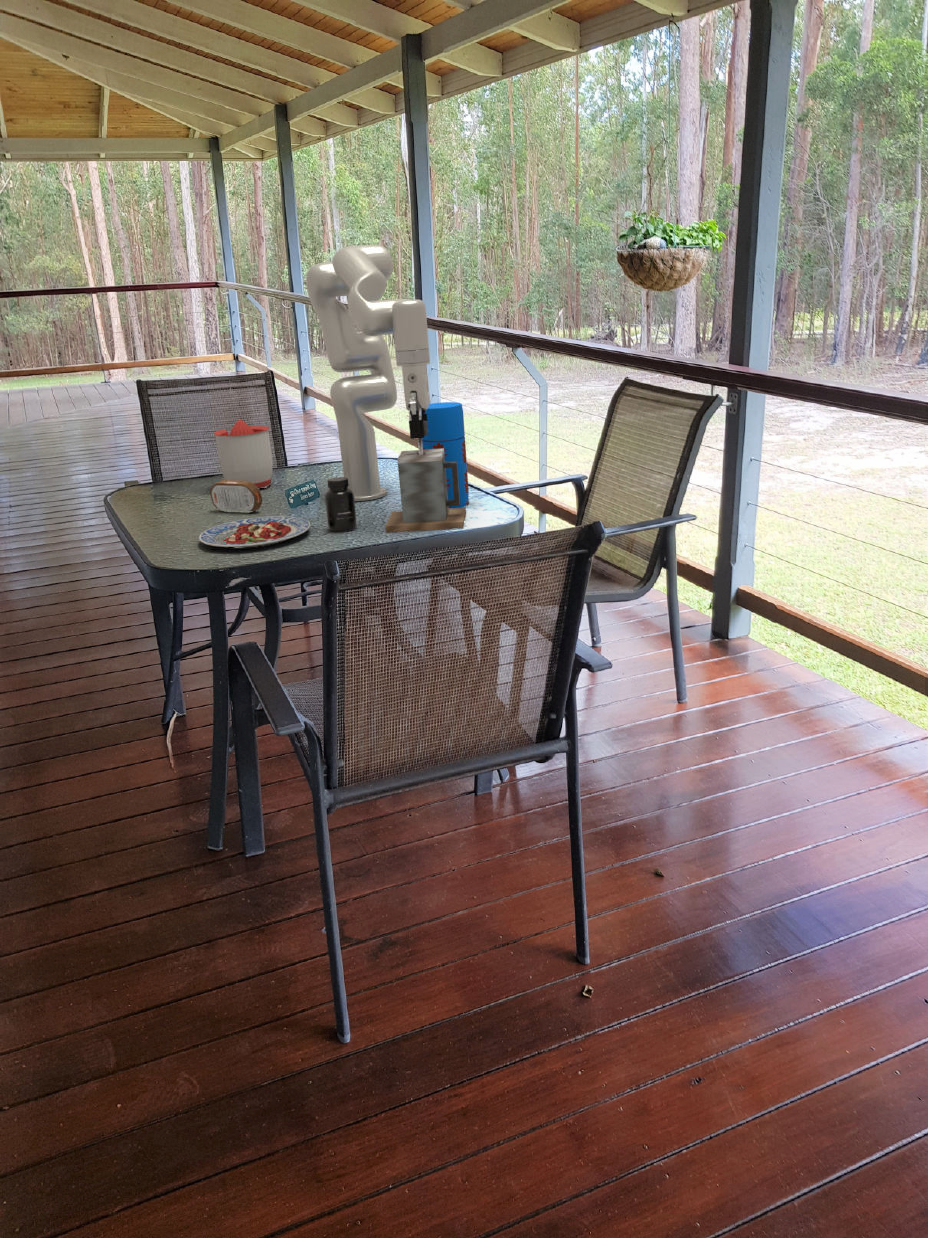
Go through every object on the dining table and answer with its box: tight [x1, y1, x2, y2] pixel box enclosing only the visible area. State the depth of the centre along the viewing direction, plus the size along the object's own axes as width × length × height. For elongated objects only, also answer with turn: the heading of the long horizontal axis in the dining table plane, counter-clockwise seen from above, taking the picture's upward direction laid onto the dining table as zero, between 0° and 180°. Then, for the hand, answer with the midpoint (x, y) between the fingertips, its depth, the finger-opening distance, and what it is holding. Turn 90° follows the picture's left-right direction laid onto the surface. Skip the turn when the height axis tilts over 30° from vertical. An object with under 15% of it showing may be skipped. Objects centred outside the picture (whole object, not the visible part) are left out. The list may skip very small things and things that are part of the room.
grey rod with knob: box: [417, 420, 428, 455], centre depth 224 cm, size 4×4×20 cm
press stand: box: [384, 448, 467, 534], centre depth 226 cm, size 18×14×16 cm
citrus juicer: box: [213, 419, 274, 488], centre depth 280 cm, size 16×17×20 cm
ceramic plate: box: [198, 515, 311, 548], centre depth 226 cm, size 26×26×3 cm
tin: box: [209, 479, 263, 512], centre depth 252 cm, size 15×3×8 cm, turn 65°
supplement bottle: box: [324, 476, 358, 533], centre depth 227 cm, size 7×7×12 cm
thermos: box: [422, 401, 470, 509], centre depth 240 cm, size 11×11×25 cm
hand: (419, 434), depth 221 cm, fingers open, 9 cm apart
